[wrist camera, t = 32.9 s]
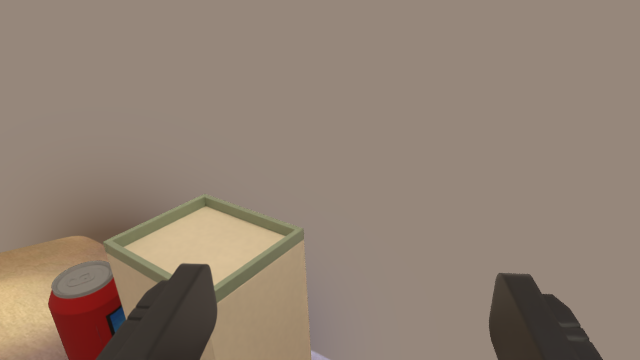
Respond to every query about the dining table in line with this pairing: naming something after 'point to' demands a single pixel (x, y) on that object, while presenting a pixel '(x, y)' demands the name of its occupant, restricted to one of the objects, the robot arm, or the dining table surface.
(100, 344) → the beverage can
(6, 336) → the dining table surface
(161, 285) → the robot arm
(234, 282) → the cabinet
